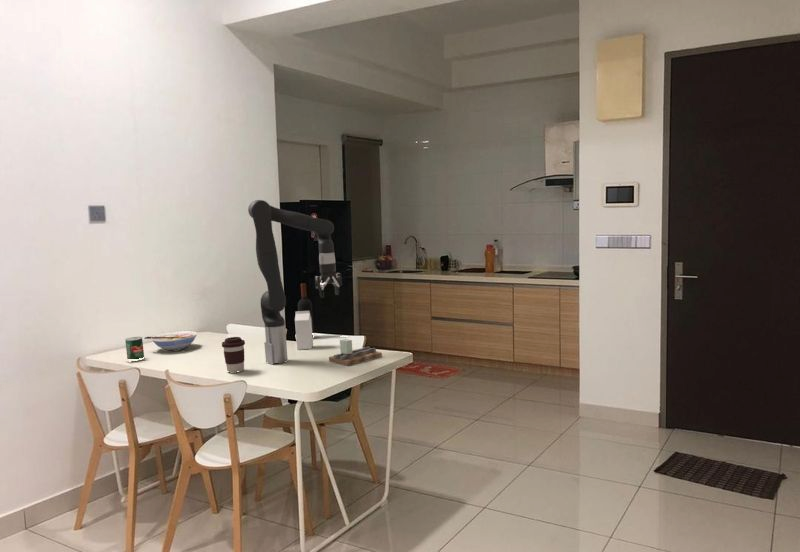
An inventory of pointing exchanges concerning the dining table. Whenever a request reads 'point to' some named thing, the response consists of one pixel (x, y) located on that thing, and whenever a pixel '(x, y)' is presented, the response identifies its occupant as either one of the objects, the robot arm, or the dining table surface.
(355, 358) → the brown flat piece
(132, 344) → the canned tomato
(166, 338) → the ramen bowl
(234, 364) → the coffee cup
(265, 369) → the dining table surface
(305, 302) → the wine bottle
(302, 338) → the milk carton
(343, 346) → the fader
